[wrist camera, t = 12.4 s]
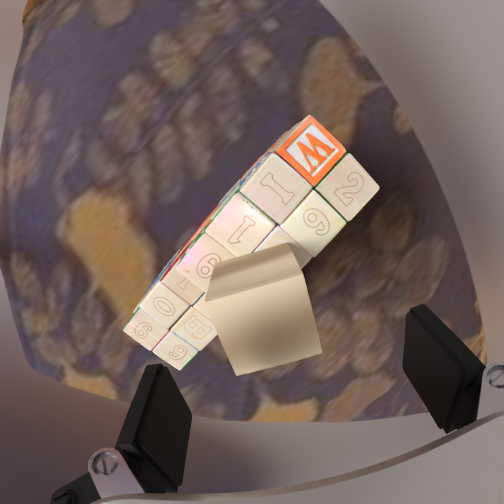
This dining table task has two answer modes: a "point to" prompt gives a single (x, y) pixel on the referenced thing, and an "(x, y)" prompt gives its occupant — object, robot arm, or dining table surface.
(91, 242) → the dining table surface
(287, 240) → the stack of blocks
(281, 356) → the tan metal block
